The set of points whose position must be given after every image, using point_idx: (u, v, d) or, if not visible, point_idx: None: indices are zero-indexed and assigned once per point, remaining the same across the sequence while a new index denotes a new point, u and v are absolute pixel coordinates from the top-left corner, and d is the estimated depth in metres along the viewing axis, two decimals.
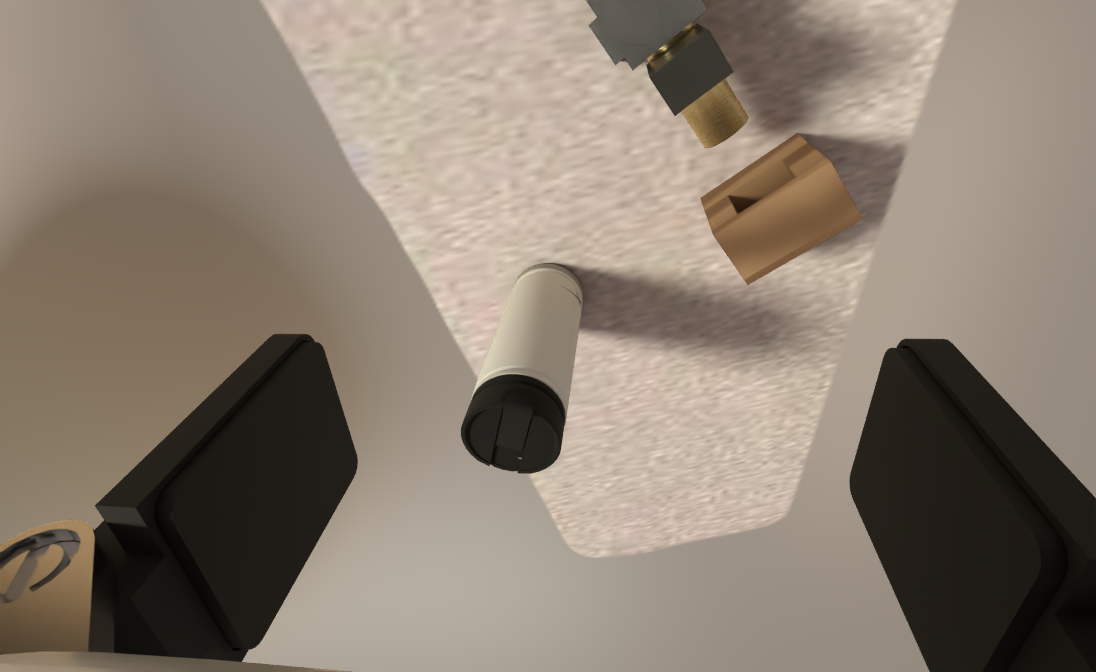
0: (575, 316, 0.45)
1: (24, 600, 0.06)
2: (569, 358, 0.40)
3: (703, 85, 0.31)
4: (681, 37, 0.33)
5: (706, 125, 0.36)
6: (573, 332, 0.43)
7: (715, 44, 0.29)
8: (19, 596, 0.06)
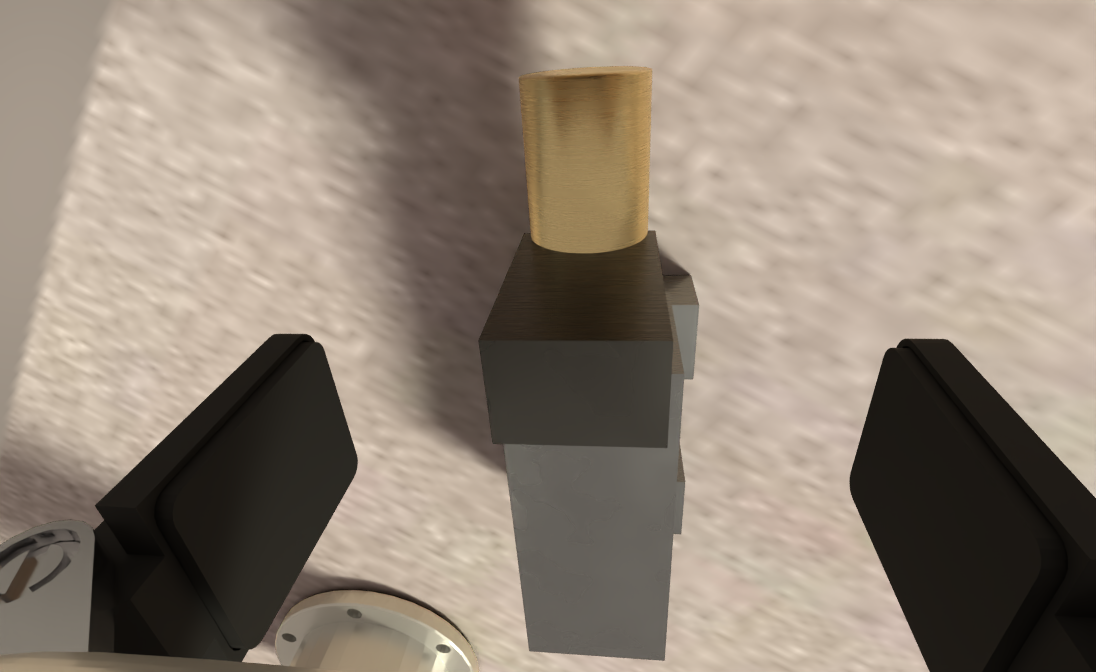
0: None
1: (24, 600, 0.06)
2: None
3: (563, 358, 0.11)
4: None
5: (616, 146, 0.13)
6: None
7: (492, 413, 0.12)
8: (19, 596, 0.06)
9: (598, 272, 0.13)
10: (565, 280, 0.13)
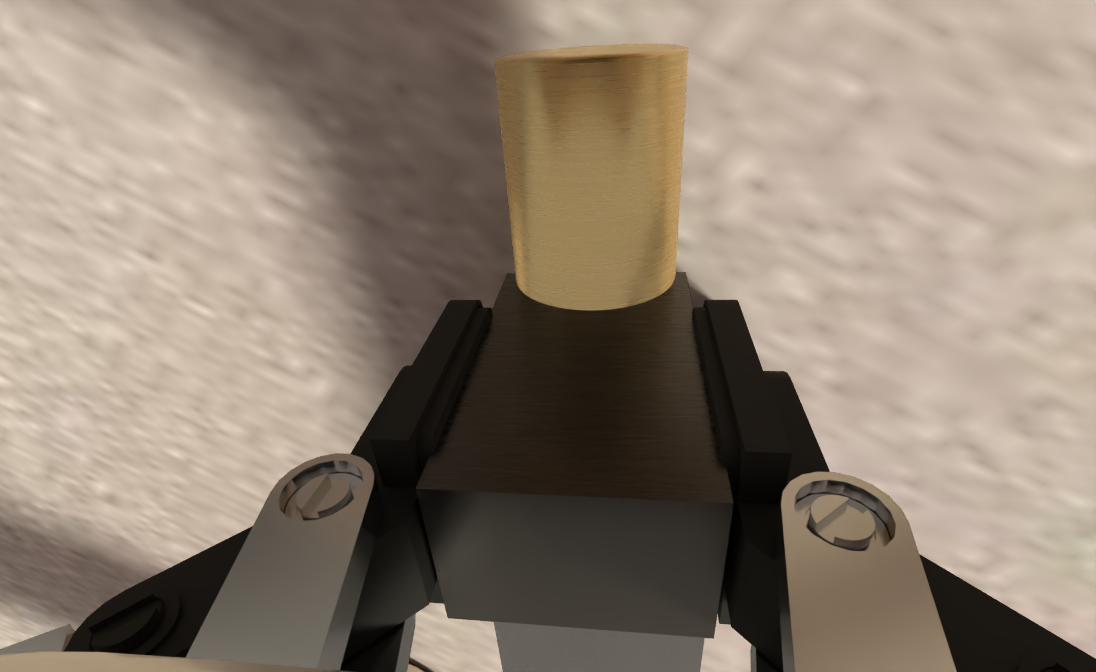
0: None
1: (310, 524, 0.06)
2: None
3: (553, 517, 0.07)
4: None
5: (635, 162, 0.09)
6: None
7: (444, 581, 0.08)
8: (310, 515, 0.07)
9: (608, 346, 0.09)
10: (558, 361, 0.09)
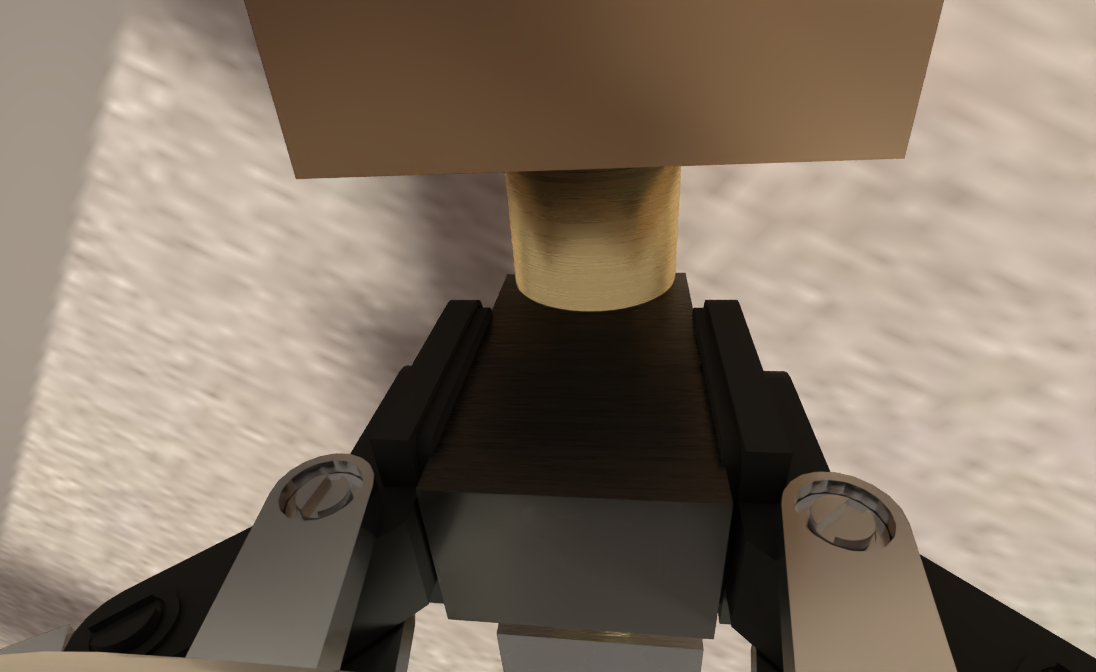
0: None
1: (310, 524, 0.06)
2: None
3: (552, 519, 0.07)
4: None
5: None
6: None
7: (444, 583, 0.08)
8: (309, 515, 0.07)
9: (607, 347, 0.09)
10: (558, 362, 0.09)
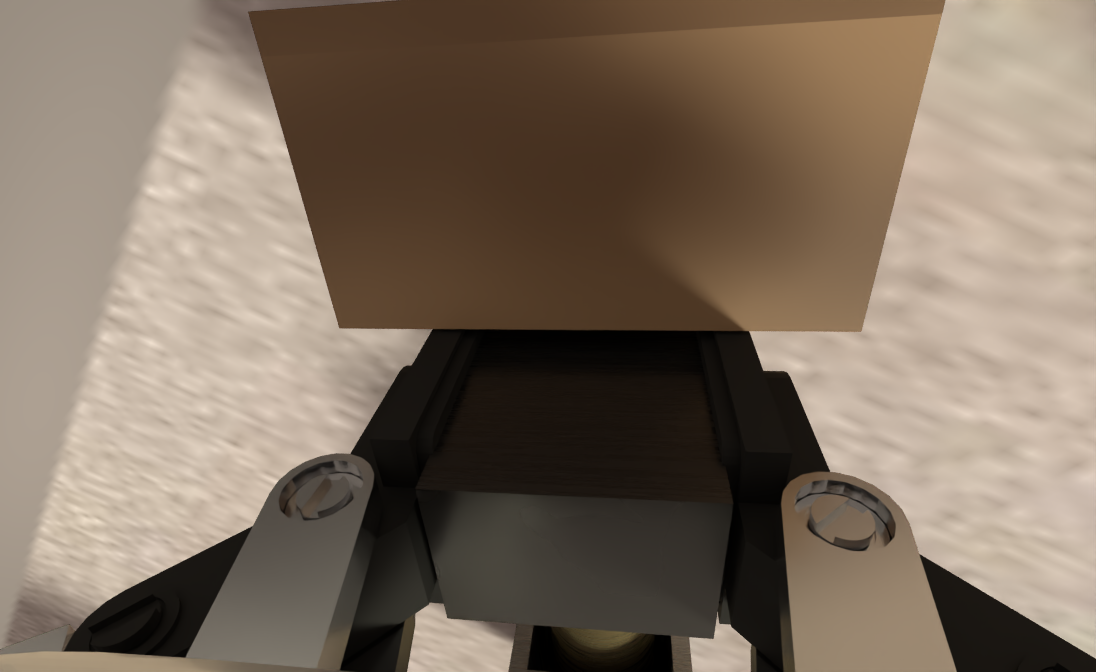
0: None
1: (310, 523, 0.06)
2: None
3: (552, 518, 0.07)
4: None
5: None
6: None
7: (443, 582, 0.08)
8: (310, 514, 0.07)
9: (607, 347, 0.09)
10: (558, 361, 0.09)
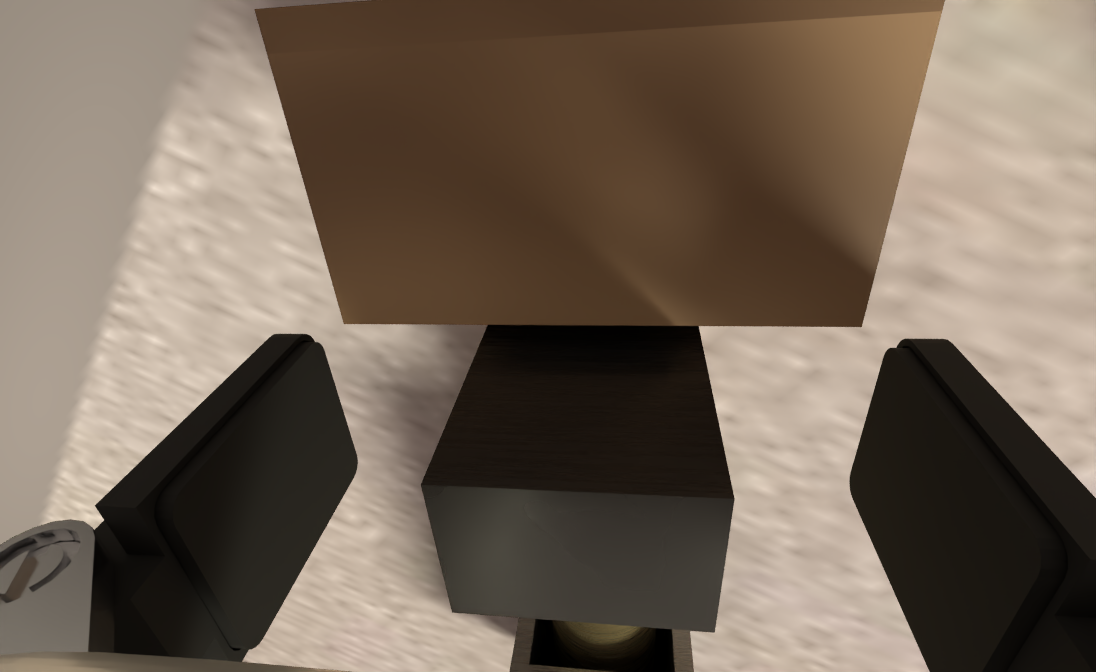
0: None
1: (24, 600, 0.06)
2: None
3: (555, 513, 0.07)
4: None
5: None
6: None
7: (448, 576, 0.08)
8: (19, 596, 0.06)
9: (610, 345, 0.09)
10: (561, 359, 0.09)
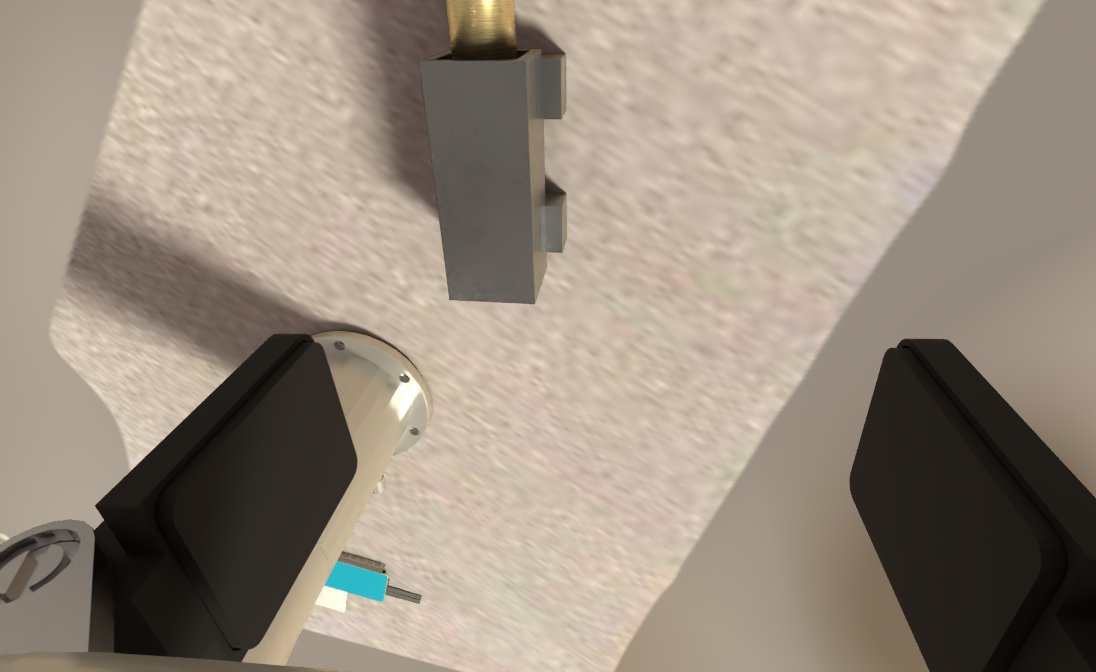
0: None
1: (24, 600, 0.06)
2: None
3: None
4: None
5: None
6: None
7: None
8: (19, 596, 0.06)
9: None
10: None
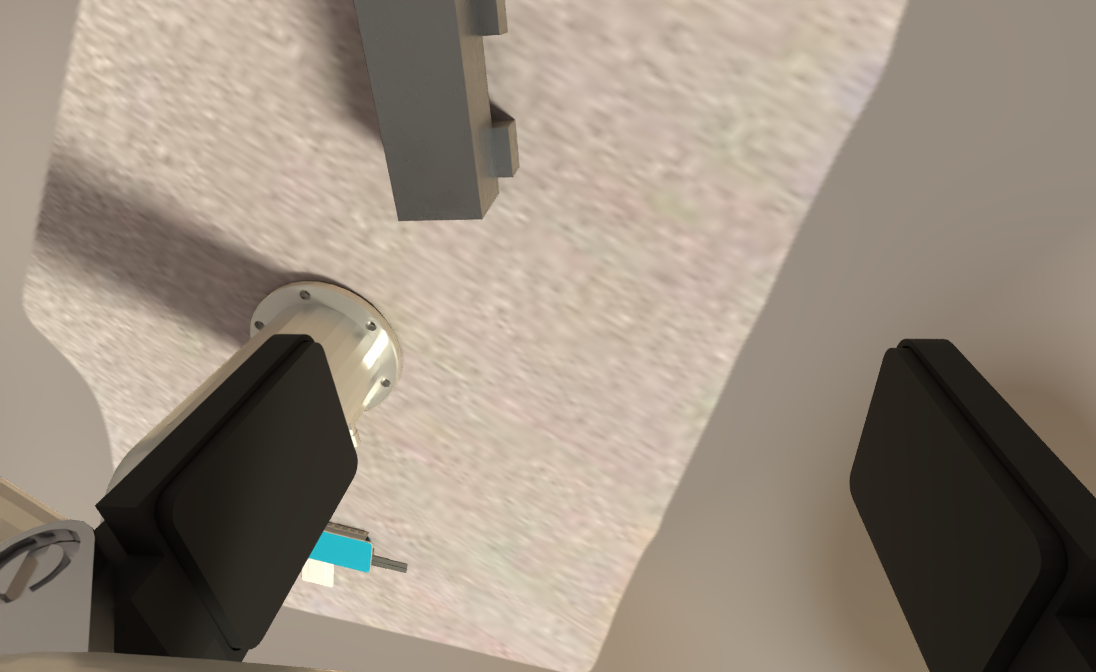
0: None
1: (24, 600, 0.06)
2: None
3: None
4: None
5: None
6: None
7: None
8: (19, 596, 0.06)
9: None
10: None
